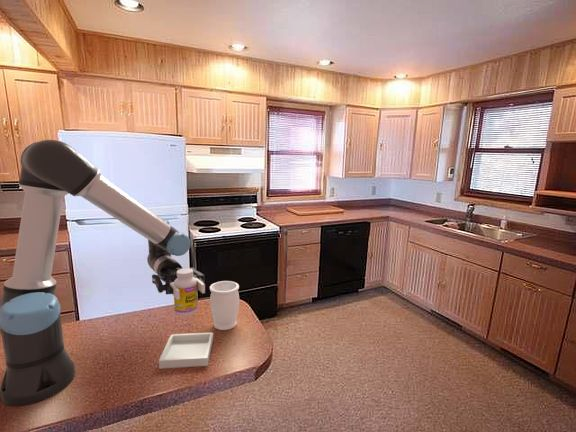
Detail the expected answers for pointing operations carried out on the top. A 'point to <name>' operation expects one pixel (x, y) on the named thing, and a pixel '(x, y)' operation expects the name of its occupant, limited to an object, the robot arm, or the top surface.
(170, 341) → the tray
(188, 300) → the supplement bottle
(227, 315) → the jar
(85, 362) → the top surface
